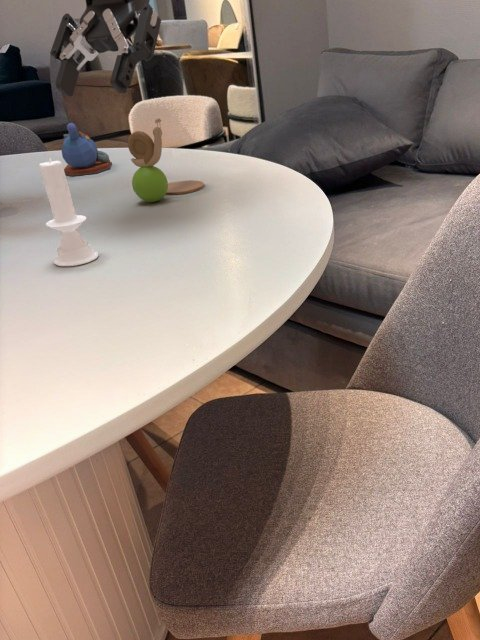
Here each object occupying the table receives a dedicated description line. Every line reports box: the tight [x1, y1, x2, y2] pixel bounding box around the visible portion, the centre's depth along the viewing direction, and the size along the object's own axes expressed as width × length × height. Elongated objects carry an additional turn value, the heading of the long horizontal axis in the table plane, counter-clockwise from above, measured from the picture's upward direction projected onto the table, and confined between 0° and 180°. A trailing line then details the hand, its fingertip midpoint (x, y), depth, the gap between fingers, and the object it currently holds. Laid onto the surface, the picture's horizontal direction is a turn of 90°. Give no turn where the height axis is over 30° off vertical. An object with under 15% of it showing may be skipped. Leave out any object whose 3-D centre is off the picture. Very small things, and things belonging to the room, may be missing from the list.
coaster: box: [165, 180, 205, 196], centre depth 107 cm, size 8×8×1 cm
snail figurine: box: [127, 118, 169, 203], centre depth 97 cm, size 5×6×12 cm
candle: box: [38, 157, 100, 267], centre depth 75 cm, size 5×5×12 cm
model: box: [61, 122, 113, 177], centre depth 126 cm, size 12×9×9 cm
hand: (90, 90), depth 78 cm, fingers open, 8 cm apart
